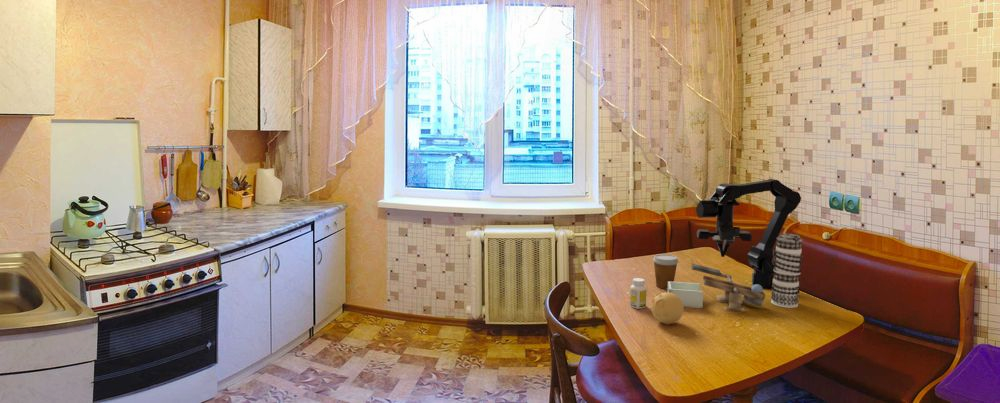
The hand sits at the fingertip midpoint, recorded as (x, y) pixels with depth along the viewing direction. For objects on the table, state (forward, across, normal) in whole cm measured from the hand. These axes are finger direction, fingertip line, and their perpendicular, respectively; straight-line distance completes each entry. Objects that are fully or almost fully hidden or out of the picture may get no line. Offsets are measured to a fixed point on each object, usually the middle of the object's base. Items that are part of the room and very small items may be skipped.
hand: (722, 256), depth 193 cm
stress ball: (+13, -22, -41) cm, 48 cm away
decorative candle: (+13, +19, -13) cm, 26 cm away
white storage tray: (+12, -15, -20) cm, 28 cm away
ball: (+6, +8, -20) cm, 22 cm away
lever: (+9, -1, -16) cm, 18 cm away
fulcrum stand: (+13, +1, -18) cm, 22 cm away
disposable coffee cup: (+13, -21, -3) cm, 25 cm away
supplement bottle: (+13, -31, -28) cm, 44 cm away
